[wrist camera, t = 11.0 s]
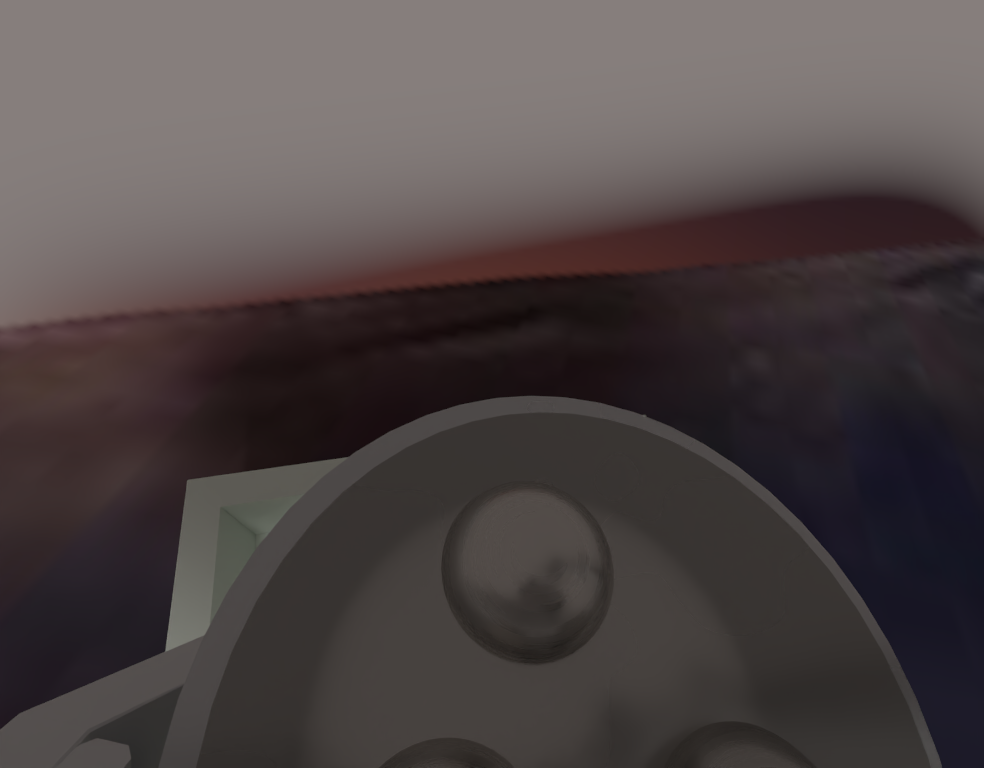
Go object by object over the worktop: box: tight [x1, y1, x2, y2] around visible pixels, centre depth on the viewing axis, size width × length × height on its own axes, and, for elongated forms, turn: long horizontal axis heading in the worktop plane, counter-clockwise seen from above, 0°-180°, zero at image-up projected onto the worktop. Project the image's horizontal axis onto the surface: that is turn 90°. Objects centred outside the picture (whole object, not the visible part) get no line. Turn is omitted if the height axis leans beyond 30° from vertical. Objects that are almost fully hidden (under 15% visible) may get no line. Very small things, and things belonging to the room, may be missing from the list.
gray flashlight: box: [158, 396, 942, 768], centre depth 8 cm, size 6×6×13 cm
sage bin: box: [165, 415, 646, 652], centre depth 14 cm, size 15×14×4 cm
